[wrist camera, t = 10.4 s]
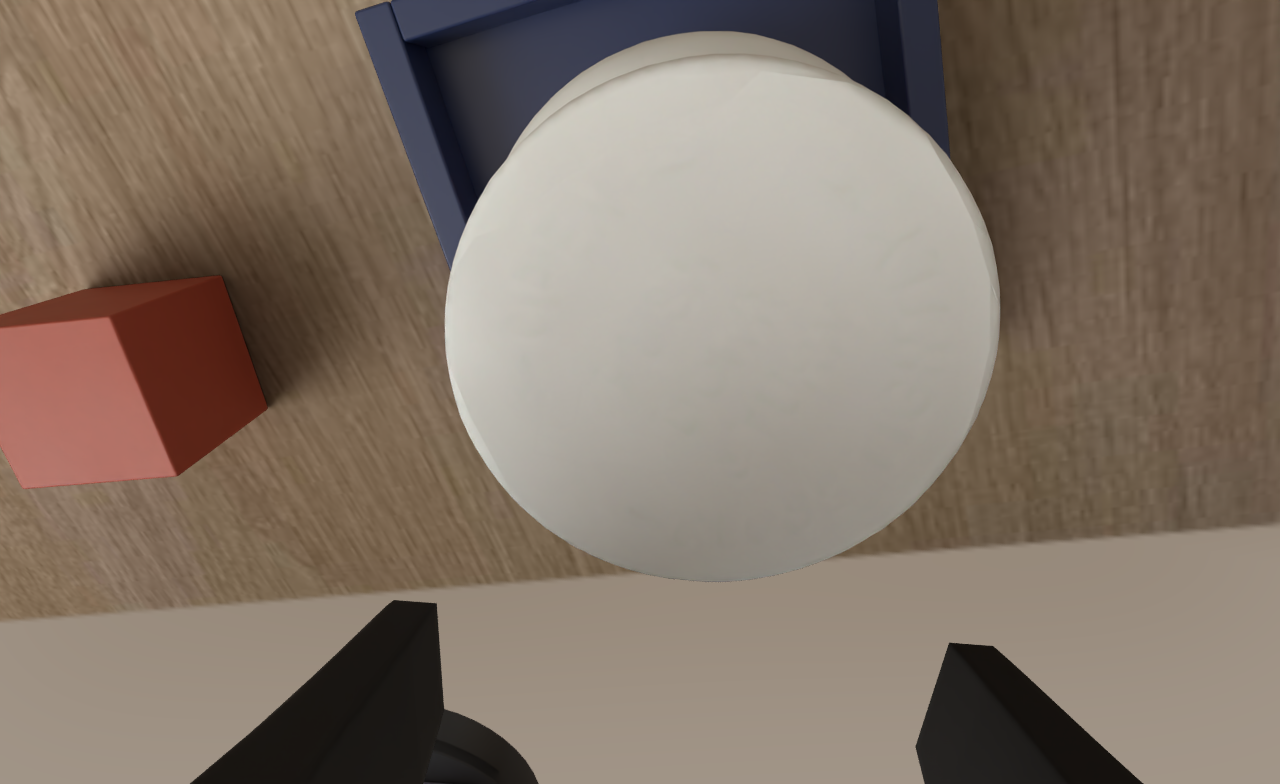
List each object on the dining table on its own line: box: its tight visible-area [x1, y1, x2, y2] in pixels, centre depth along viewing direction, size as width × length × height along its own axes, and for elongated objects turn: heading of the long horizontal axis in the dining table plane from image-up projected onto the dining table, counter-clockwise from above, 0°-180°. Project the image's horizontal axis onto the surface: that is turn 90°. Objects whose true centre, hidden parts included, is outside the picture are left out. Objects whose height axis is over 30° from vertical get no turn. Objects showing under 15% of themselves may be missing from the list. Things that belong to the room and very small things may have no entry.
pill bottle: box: [445, 31, 1000, 582], centre depth 11 cm, size 6×6×11 cm
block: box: [0, 275, 268, 489], centre depth 17 cm, size 4×4×4 cm
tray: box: [355, 0, 950, 271], centre depth 16 cm, size 12×12×2 cm
